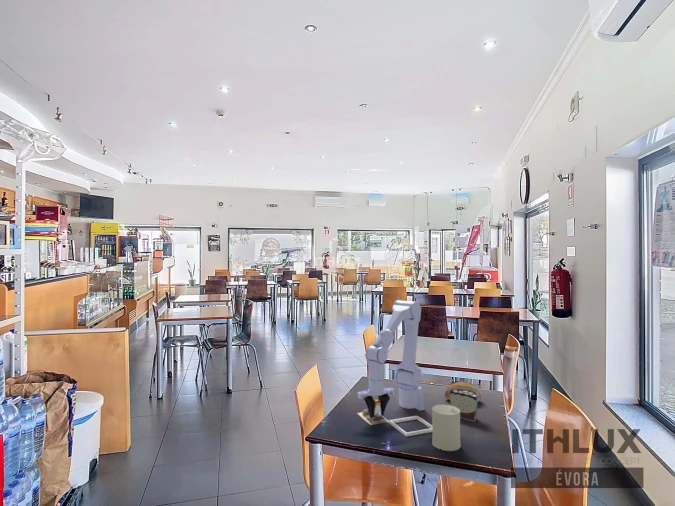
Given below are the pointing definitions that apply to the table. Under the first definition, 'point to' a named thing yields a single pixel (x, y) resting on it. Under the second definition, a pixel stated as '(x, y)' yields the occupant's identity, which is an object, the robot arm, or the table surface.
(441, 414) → the can
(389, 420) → the white square frame
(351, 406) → the table surface
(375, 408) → the glass shaker
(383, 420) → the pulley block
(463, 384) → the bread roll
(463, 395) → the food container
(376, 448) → the table surface
